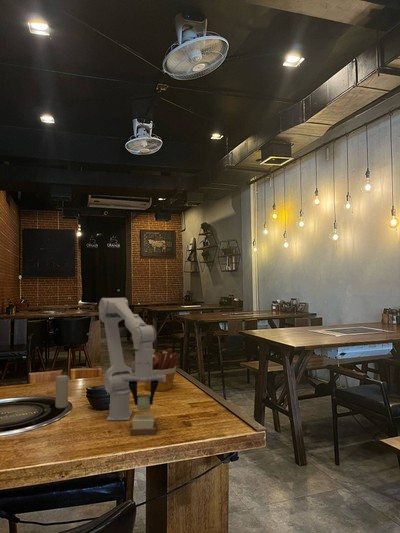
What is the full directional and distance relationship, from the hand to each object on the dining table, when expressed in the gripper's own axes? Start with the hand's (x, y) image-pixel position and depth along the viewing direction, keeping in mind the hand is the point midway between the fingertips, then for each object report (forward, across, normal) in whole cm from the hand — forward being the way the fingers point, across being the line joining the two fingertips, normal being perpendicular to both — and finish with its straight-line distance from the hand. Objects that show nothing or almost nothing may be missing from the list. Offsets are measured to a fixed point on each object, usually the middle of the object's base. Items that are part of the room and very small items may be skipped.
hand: (143, 404), depth 131 cm
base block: (+9, 0, 0) cm, 9 cm away
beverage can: (+9, -35, +30) cm, 47 cm away
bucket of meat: (+9, +3, +55) cm, 56 cm away
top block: (+7, 0, 0) cm, 7 cm away
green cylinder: (+1, 0, 0) cm, 1 cm away
